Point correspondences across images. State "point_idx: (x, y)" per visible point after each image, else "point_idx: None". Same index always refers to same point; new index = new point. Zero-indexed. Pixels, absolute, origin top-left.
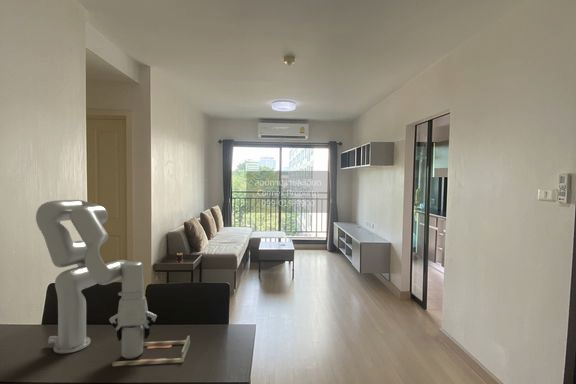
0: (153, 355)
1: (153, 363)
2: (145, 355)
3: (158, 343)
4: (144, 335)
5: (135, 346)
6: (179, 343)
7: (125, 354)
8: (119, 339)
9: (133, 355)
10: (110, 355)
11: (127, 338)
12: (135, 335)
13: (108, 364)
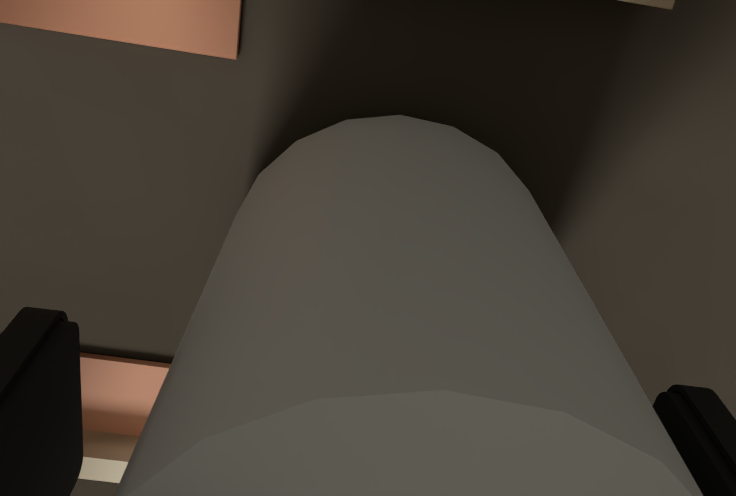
0: (49, 156)
1: None
2: (181, 188)
3: None
4: (42, 372)
5: (299, 200)
6: None
7: (483, 156)
8: (690, 396)
9: (343, 128)
10: (696, 311)
11: (501, 296)
12: (265, 342)
13: (721, 43)
